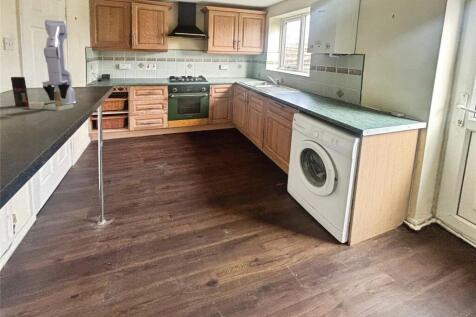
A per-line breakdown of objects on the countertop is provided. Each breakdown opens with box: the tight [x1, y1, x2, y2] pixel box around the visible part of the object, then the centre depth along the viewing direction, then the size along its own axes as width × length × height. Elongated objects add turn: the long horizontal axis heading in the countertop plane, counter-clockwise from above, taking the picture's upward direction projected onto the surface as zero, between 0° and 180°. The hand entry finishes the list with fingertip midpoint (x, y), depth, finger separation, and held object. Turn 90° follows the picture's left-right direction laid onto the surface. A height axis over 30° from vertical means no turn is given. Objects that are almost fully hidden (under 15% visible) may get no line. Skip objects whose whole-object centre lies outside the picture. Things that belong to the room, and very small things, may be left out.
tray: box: [42, 103, 75, 111], centre depth 169 cm, size 11×9×2 cm
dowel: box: [54, 91, 62, 107], centre depth 167 cm, size 3×3×8 cm
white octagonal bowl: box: [28, 101, 45, 110], centre depth 166 cm, size 7×7×3 cm
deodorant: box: [10, 76, 30, 108], centre depth 168 cm, size 6×6×15 cm
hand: (58, 99), depth 167 cm, fingers open, 7 cm apart
